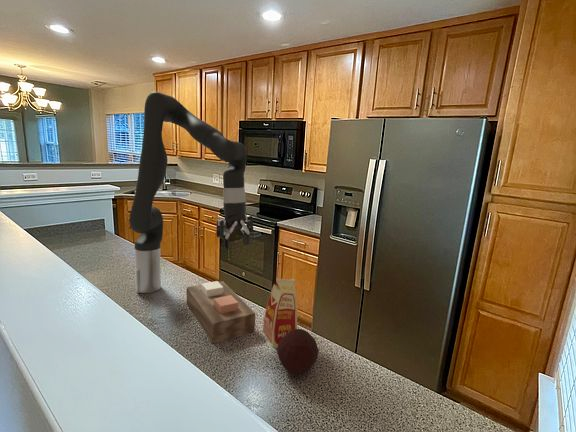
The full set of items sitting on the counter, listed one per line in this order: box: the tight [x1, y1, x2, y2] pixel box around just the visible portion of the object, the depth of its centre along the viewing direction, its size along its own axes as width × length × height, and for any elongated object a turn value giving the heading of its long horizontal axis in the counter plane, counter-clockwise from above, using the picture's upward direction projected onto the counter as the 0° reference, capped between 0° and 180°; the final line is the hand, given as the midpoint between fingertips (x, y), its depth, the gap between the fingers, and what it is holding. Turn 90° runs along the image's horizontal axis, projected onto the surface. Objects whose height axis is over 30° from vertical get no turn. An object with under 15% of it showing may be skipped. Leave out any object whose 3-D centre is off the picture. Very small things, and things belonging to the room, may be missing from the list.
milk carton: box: [262, 277, 298, 349], centre depth 97 cm, size 9×9×20 cm
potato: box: [276, 328, 319, 378], centre depth 84 cm, size 11×13×10 cm
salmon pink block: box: [214, 295, 238, 314], centre depth 102 cm, size 6×6×4 cm
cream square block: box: [200, 280, 223, 297], centre depth 112 cm, size 6×6×4 cm
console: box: [186, 280, 257, 344], centre depth 108 cm, size 14×28×6 cm, turn 33°
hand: (236, 246), depth 110 cm, fingers open, 8 cm apart
